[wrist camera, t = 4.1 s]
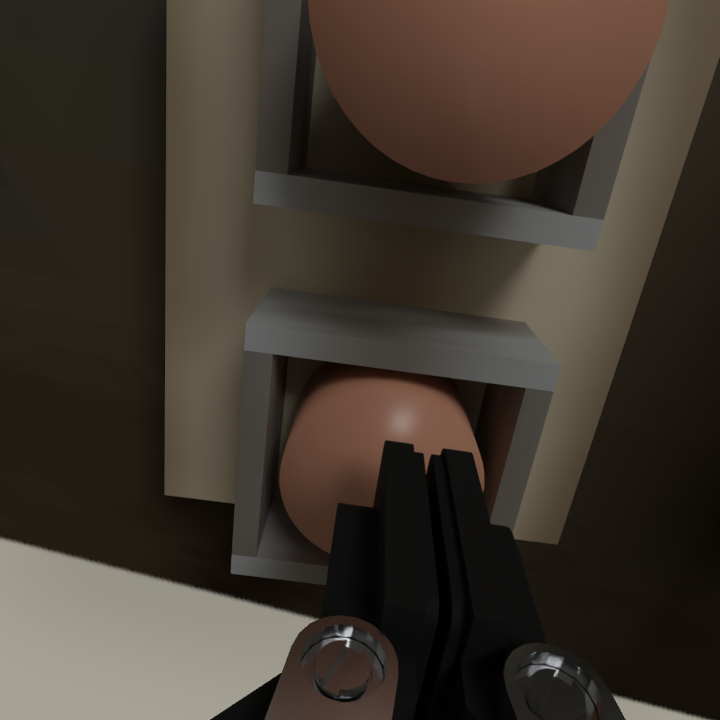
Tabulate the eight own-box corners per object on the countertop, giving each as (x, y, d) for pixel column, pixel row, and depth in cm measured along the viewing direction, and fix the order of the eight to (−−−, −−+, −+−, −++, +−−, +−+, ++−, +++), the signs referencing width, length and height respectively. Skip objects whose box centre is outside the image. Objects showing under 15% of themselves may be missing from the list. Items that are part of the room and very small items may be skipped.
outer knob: (480, 356, 14) (505, 407, 12) (446, 501, 16) (461, 576, 13) (305, 332, 14) (288, 378, 12) (289, 481, 16) (271, 553, 13)
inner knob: (623, -104, 9) (733, -213, 6) (549, 188, 11) (611, 205, 8) (343, -148, 9) (329, -279, 6) (313, 154, 11) (292, 158, 8)
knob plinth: (670, -37, 15) (904, -177, 8) (524, 471, 21) (594, 624, 14) (220, -107, 14) (94, -311, 8) (202, 430, 20) (122, 566, 14)
